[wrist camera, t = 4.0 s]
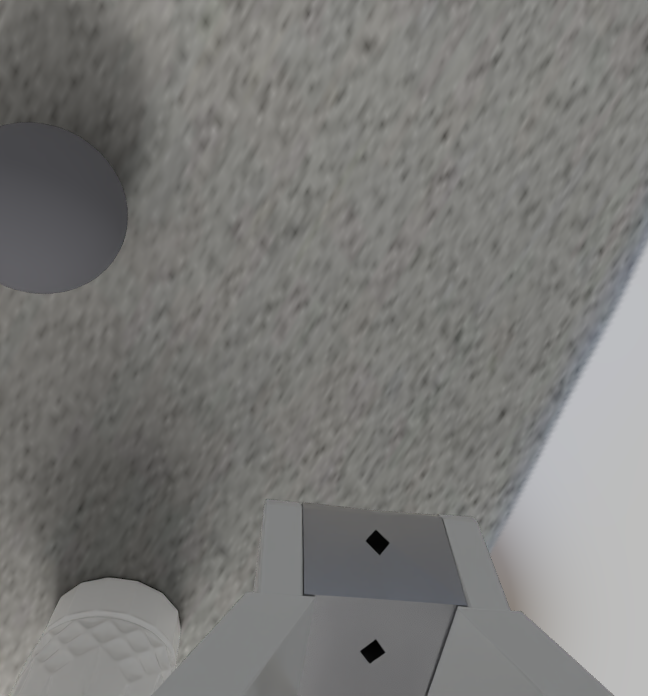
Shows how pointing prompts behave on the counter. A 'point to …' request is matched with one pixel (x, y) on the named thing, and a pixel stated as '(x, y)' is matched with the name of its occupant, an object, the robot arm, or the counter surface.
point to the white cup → (104, 643)
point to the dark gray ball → (56, 209)
